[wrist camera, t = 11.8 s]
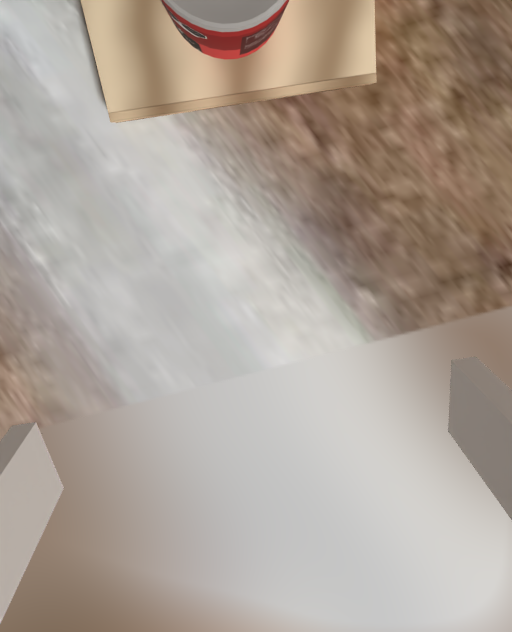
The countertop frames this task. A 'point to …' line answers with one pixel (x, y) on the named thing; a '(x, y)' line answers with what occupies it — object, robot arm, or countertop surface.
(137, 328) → the countertop surface
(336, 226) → the countertop surface
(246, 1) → the canned food
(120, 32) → the cutting board
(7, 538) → the robot arm
